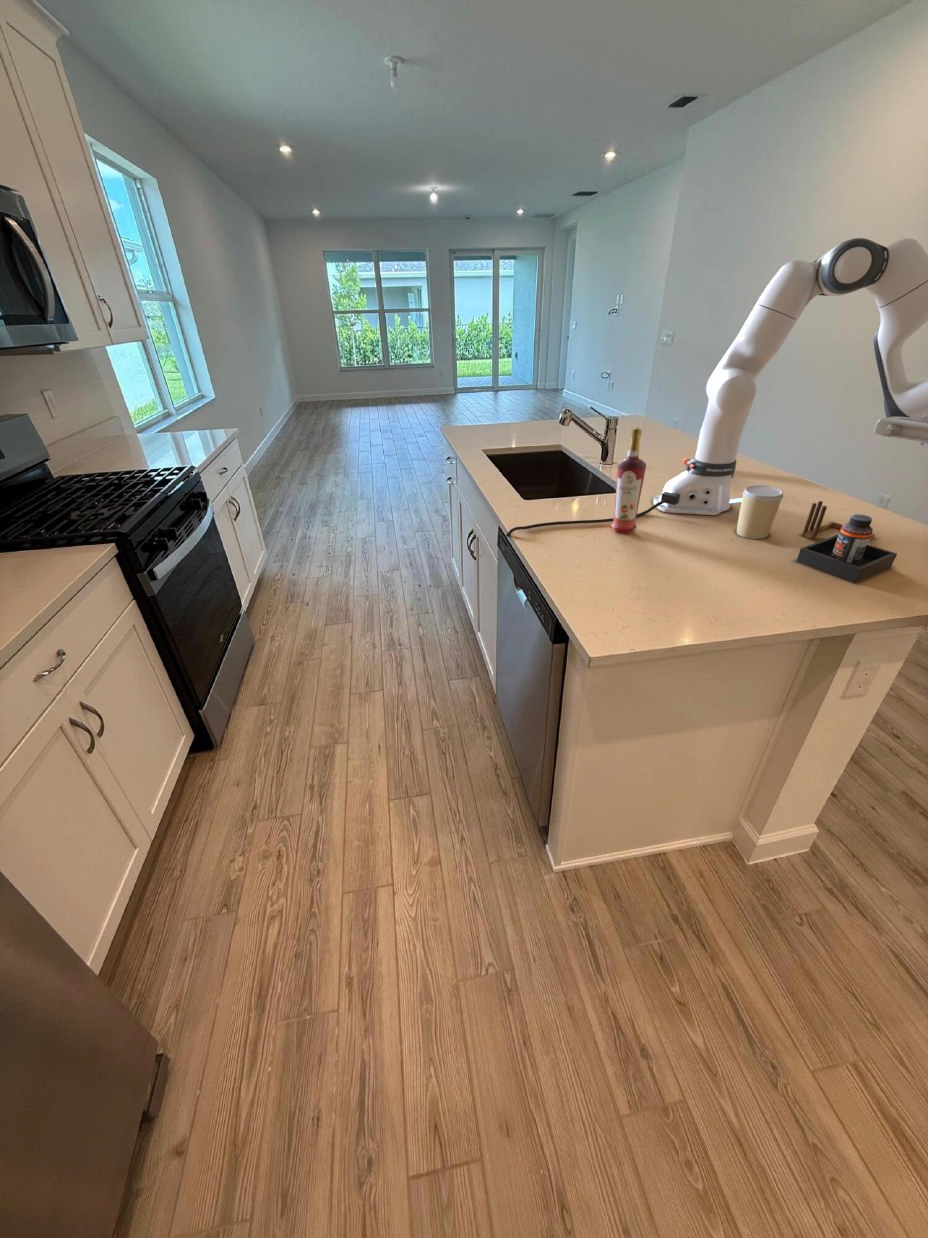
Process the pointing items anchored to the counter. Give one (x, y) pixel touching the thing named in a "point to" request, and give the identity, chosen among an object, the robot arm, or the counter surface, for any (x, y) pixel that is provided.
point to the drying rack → (818, 523)
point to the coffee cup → (758, 511)
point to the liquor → (629, 486)
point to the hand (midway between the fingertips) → (909, 436)
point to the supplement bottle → (853, 539)
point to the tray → (822, 560)
